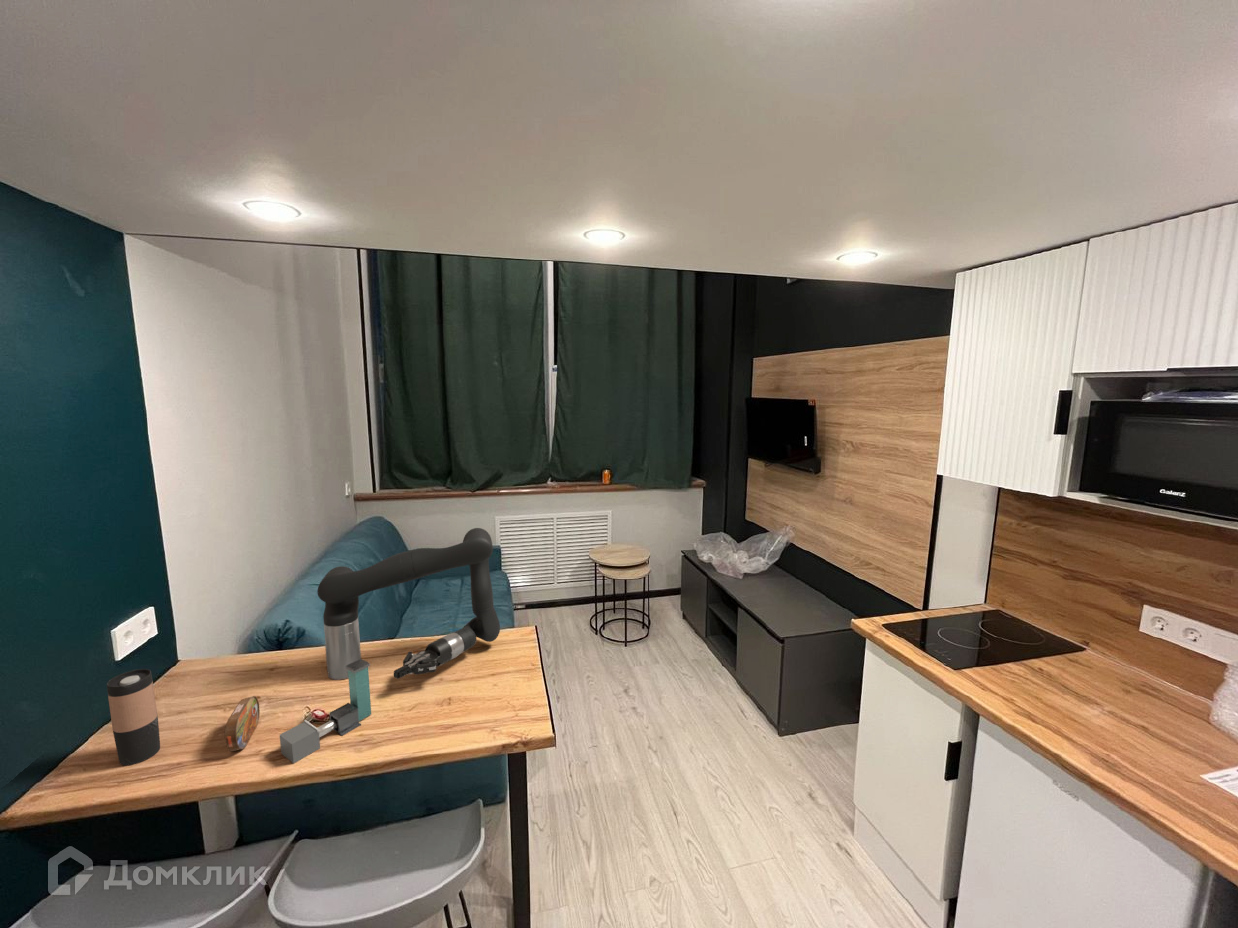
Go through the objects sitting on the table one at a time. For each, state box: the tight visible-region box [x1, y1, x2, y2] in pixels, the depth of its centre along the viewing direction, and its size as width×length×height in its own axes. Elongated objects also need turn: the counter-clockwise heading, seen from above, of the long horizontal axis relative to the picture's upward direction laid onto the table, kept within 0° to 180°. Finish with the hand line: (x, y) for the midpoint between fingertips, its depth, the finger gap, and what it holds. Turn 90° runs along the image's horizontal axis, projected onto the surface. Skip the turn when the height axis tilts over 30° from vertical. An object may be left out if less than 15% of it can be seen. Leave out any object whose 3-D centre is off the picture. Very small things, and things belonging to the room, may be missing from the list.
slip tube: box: [317, 658, 372, 739], centre depth 125 cm, size 4×18×15 cm, turn 148°
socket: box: [279, 719, 321, 764], centre depth 119 cm, size 6×6×5 cm
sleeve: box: [329, 702, 362, 737], centre depth 128 cm, size 6×5×4 cm
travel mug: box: [106, 668, 161, 766], centre depth 116 cm, size 8×8×20 cm
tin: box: [224, 695, 260, 752], centre depth 123 cm, size 15×3×8 cm, turn 20°
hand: (395, 675), depth 140 cm, fingers closed
